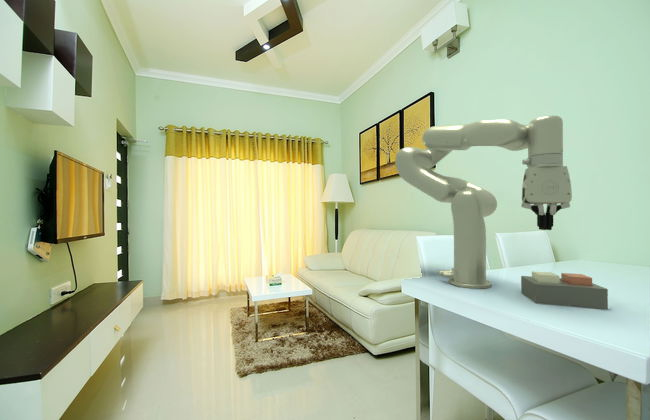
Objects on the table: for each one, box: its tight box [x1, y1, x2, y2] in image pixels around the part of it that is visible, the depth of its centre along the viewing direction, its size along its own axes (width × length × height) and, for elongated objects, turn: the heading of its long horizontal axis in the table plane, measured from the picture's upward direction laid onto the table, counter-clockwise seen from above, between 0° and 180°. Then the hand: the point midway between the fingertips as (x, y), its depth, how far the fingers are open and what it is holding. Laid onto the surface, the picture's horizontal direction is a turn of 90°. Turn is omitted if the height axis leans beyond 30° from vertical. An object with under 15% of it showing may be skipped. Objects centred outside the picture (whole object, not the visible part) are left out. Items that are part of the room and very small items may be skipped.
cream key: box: [531, 270, 560, 284], centre depth 77 cm, size 5×5×3 cm
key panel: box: [520, 275, 609, 310], centre depth 75 cm, size 15×10×5 cm, turn 73°
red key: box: [560, 272, 593, 286], centre depth 74 cm, size 5×5×3 cm
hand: (545, 229), depth 77 cm, fingers closed
